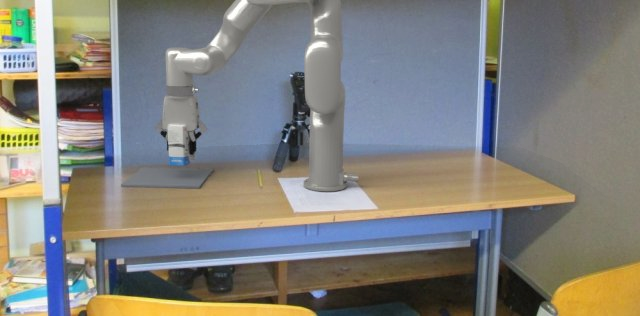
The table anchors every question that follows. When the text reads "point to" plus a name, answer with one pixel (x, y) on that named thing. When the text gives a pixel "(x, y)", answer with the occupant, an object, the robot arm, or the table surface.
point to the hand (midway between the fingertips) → (181, 153)
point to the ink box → (179, 145)
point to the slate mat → (168, 178)
